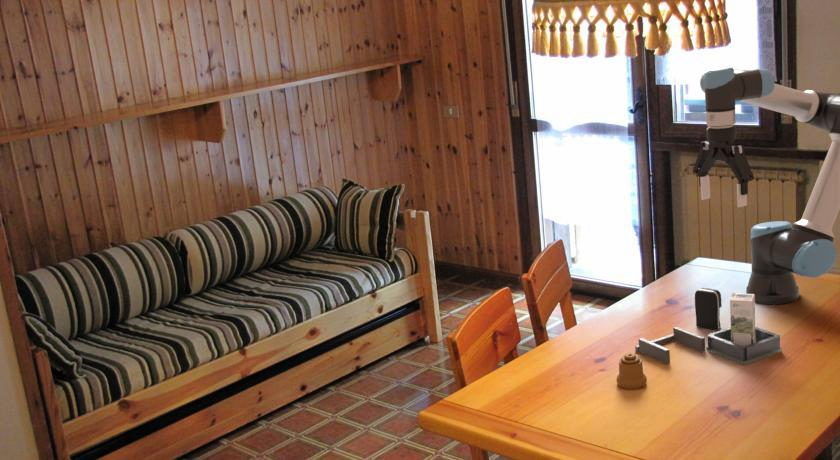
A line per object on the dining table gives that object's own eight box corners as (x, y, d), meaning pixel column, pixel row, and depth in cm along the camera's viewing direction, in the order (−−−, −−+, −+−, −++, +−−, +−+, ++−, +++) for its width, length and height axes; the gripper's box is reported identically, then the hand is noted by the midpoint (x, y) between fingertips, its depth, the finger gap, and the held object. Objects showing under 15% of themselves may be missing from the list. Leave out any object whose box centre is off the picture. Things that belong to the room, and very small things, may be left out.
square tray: (743, 337, 256) (743, 322, 255) (781, 351, 245) (781, 335, 244) (706, 350, 251) (705, 335, 250) (743, 365, 239) (743, 349, 238)
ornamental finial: (652, 381, 236) (637, 392, 231) (626, 376, 241) (611, 386, 236) (650, 352, 234) (635, 363, 229) (624, 347, 239) (609, 357, 234)
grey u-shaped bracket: (673, 338, 262) (672, 325, 261) (705, 351, 251) (704, 337, 250) (635, 351, 256) (634, 337, 255) (666, 364, 245) (665, 350, 244)
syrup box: (756, 344, 249) (755, 292, 245) (753, 352, 244) (752, 300, 240) (734, 342, 251) (732, 292, 248) (731, 351, 246) (729, 299, 243)
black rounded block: (724, 326, 266) (722, 288, 263) (717, 331, 263) (716, 292, 260) (701, 322, 271) (699, 285, 268) (695, 327, 268) (693, 289, 265)
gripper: (678, 124, 260) (681, 198, 265) (745, 131, 238) (747, 212, 243) (698, 120, 263) (701, 193, 268) (767, 127, 241) (768, 206, 246)
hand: (723, 202), depth 256 cm, fingers open, 13 cm apart
